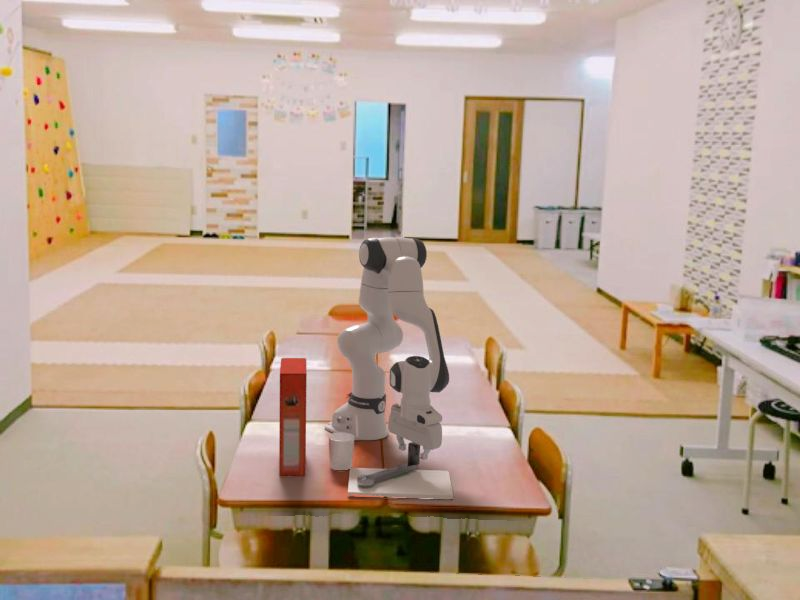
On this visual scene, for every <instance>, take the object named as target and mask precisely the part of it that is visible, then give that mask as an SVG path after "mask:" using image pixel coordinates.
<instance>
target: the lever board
mask: <svg viewBox="0 0 800 600" xmlns="http://www.w3.org/2000/svg"><path fill="white" fill-rule="evenodd" d="M386 469H387V468H372V467H371V468H369V467H367V468H365V467H352V468H350V470H349V476H348V486H347V495H348V494H349V495H353V494H359V495H372V496H375V495H376V496H379V495H381V496H386V497H393V496H394V497H406V498H433V499H453V500H454V492H453V489H452V482H451V477H450V473H449V470H440V469H439V470H435V469H434V470H432V469H417V470H414V471H411V472H408V473H405V474H402V475H398V476H395V477H392V478H389V479H386V480H383V481H380V482H377V483H374V486H372V487H360V486H358V485H357V477H358V476H360V475H370V474H374V473H377V472H380V471H383V470H386Z"/></svg>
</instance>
